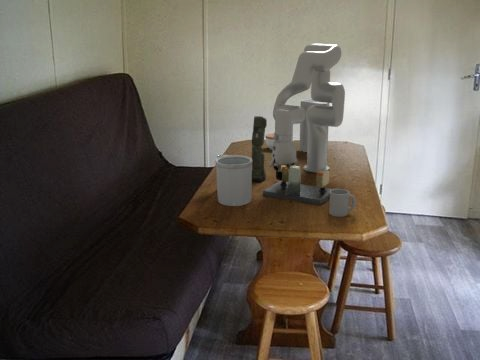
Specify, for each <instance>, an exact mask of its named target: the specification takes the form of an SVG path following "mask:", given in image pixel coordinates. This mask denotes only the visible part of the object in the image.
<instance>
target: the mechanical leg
mask: <svg viewBox="0 0 480 360" xmlns="http://www.w3.org/2000/svg"><path fill="white" fill-rule="evenodd" d="M252 126H253V127H252V129H253V130H252V132H251V133H252V136H251V158H252V183H261V184H262V183H263V182H264V181H265V180H267V179H266V178H267V172H266V170H265V153H264V152H262V150H263V149H262V148H263V147H262V146H263V145H264V143H265V136H266V135H265V134H266V128H267V118H266V117H264V116H258V115H257V116H256V115H255V116H254V117H253V124H252Z"/></svg>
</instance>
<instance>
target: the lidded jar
mask: <svg viewBox="0 0 480 360" xmlns="http://www.w3.org/2000/svg"><path fill="white" fill-rule="evenodd" d="M274 136H275V131H274V132H273V133H267V134H266V135H265V136H264V138H265V144H266V146H267V147H268V148H269V150H271V151H272V149H273V143H274V141H275V140H273V137H274Z"/></svg>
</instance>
